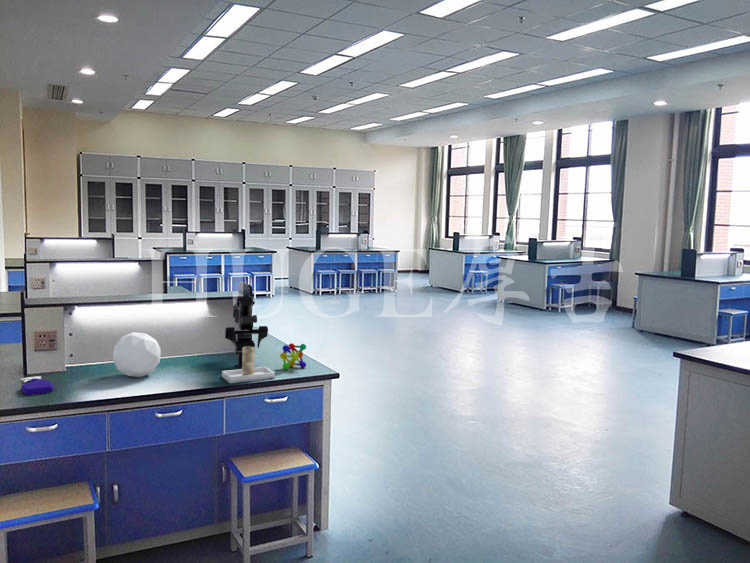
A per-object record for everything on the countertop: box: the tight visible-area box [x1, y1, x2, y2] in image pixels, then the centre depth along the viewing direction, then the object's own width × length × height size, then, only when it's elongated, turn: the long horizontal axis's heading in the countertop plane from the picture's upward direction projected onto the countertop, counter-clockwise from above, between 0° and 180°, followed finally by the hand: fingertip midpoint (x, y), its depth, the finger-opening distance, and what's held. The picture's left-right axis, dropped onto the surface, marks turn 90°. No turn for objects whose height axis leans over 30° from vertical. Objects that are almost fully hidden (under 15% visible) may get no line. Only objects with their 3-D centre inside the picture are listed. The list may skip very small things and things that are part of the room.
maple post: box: [241, 346, 256, 376], centre depth 269 cm, size 5×5×13 cm
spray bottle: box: [20, 375, 54, 396], centre depth 248 cm, size 3×11×24 cm
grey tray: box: [221, 366, 276, 384], centre depth 270 cm, size 20×12×2 cm, turn 119°
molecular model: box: [279, 342, 307, 370], centre depth 288 cm, size 12×7×12 cm, turn 116°
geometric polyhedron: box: [112, 331, 162, 378], centre depth 268 cm, size 19×20×20 cm
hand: (247, 348), depth 271 cm, fingers open, 9 cm apart
